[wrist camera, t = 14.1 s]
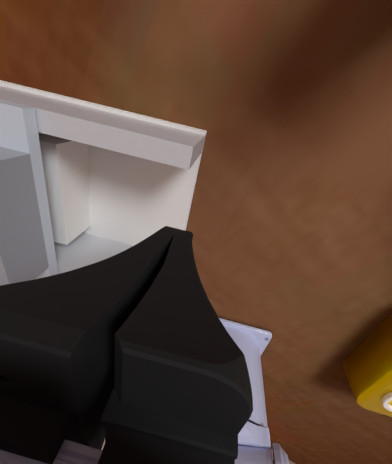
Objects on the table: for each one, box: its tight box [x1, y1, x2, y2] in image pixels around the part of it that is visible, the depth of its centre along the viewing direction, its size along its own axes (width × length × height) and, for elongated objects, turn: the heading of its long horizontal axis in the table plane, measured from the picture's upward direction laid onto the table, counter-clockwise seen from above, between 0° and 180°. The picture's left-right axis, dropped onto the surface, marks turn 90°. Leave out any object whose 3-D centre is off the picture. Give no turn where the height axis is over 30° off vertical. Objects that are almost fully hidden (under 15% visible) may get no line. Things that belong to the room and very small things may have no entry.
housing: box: [0, 80, 207, 274], centre depth 17 cm, size 13×18×6 cm
